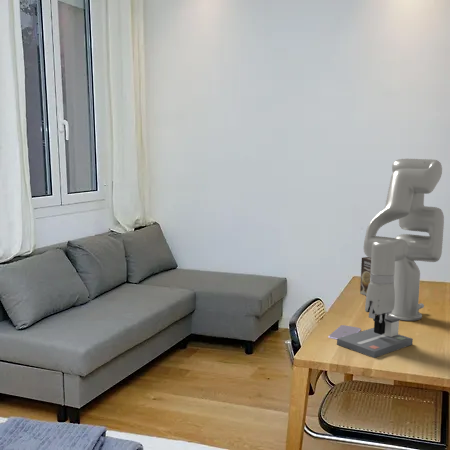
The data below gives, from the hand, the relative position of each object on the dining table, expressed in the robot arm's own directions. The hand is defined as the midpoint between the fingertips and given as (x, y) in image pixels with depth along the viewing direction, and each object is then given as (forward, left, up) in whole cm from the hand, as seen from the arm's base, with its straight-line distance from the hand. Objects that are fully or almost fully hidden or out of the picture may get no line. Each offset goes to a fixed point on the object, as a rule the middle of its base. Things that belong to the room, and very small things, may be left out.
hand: (379, 333), depth 196 cm
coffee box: (-48, -40, -4) cm, 63 cm away
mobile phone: (+1, -14, -4) cm, 14 cm away
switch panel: (+2, 0, -4) cm, 4 cm away
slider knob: (-5, 0, -1) cm, 5 cm away
